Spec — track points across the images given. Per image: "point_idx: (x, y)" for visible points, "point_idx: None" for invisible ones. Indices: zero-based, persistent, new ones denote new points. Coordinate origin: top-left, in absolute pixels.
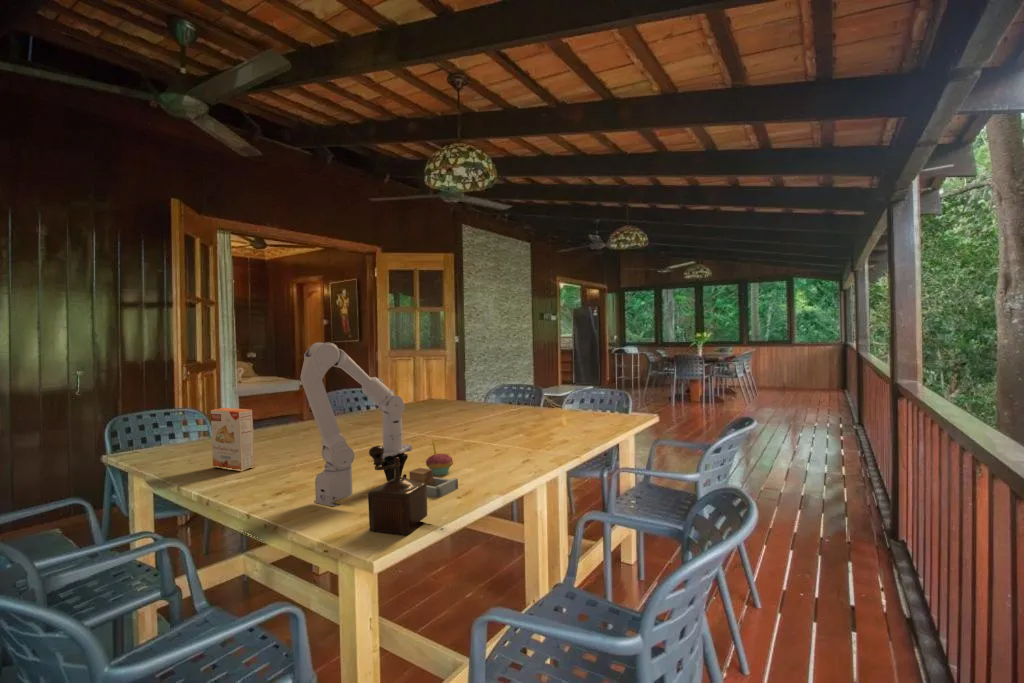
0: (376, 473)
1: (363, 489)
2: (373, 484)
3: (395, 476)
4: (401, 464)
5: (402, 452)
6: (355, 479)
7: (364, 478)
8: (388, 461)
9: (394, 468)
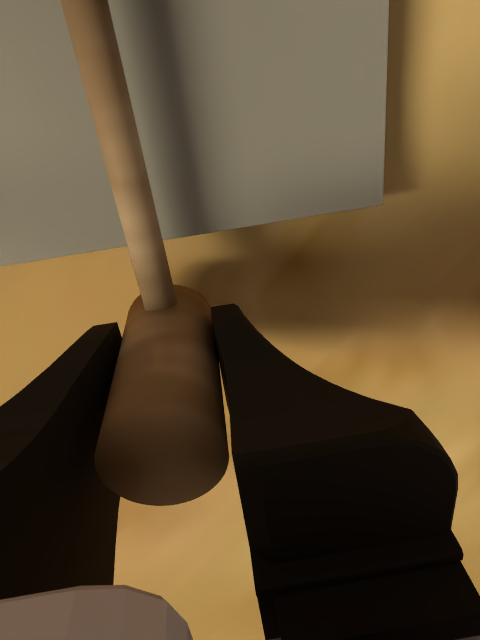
0: None
1: None
2: (235, 475)
3: (186, 329)
4: (46, 421)
5: (11, 633)
6: (234, 607)
7: (185, 593)
8: (448, 483)
9: (229, 378)
